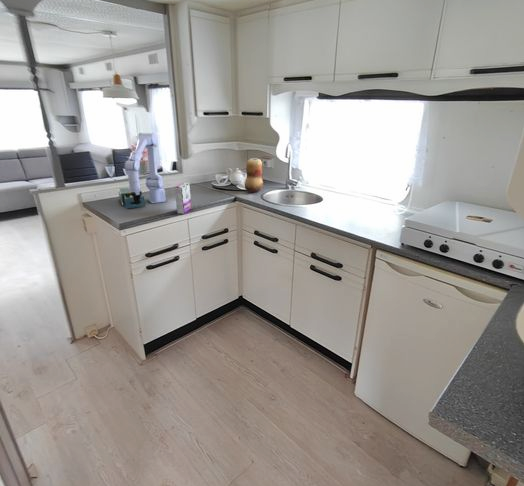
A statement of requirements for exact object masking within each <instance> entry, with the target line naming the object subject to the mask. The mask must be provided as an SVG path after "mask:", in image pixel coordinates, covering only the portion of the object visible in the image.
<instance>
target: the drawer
mask: <svg viewBox="0 0 524 486" xmlns="http://www.w3.org/2000/svg"><path fill="white" fill-rule="evenodd" d="M130 196H132V195H131V194H124V195H123V200H124V203H125V206H124V207H125V209H132V208H133V209H134V208H140V207H146V202H145V196H144V195H143V194H142V195H141V196H140V202H139V204H137V205H136V204H135V202H134V199H133V197H130Z"/></svg>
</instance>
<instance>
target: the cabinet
mask: <svg viewBox="0 0 524 486" xmlns="http://www.w3.org/2000/svg"><path fill="white" fill-rule="evenodd" d="M128 189H130V187H121V188H120V187H119V188H117V193H118V199H119V202H120V204H121V205H122V206H123V207H125V203H124V200H123V195H124V194H131V192H132V191H128ZM140 192H141V195H142V196H143V191H142V189H141V190H140Z"/></svg>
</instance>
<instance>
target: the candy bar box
mask: <svg viewBox="0 0 524 486" xmlns="http://www.w3.org/2000/svg"><path fill="white" fill-rule="evenodd" d="M174 194H175V195H174V197H175V205H176V214H178V215H186V214H187V213H188V212H189V211H191V210H192V209H193V207H192V198H191V187H190V182H181V183H180V184H178V185H175V186H174Z"/></svg>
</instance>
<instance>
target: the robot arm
mask: <svg viewBox="0 0 524 486" xmlns="http://www.w3.org/2000/svg"><path fill="white" fill-rule="evenodd" d="M157 147H158V137H157V136H156V134H155V133H154V132H152V133H151V132H150V133H148V132H146V133H145V132H139V133H138V134H137V145H136V147H135V149H134V150H132V152H131V153H130V156H129V158H128V160H126V161H125V162H124V166H123V167H124V169H125V171H126V175H127V179H128V185H129V188H130V189H128V191H132V192H131V195H132V197H133V199H134V202H135V204H136V205H137V204H139V202H140V196H141V192H140V190H141V191H142V189H141V183H140V176H139V170H140V165H141V160H142V158H143V154H142V153H143V152H144V150H145V148H146V151H147V161H148V164H147V165H148V174H147V175H146V176H145V186H146V188H147V189H148V190H149V199H148V201H149V202H150V203H151V204H157V203H158V204H159V203H166V202H167V200H166V191H165V188H164V187H163V186H164V181H163V176H162V175H161V174H160V173H158V164H157V163H158V161H157V149H156V148H157Z"/></svg>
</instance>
